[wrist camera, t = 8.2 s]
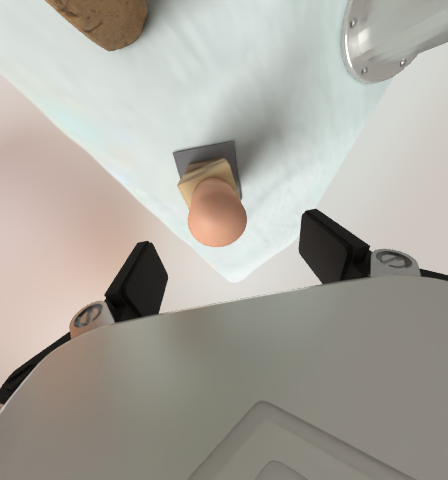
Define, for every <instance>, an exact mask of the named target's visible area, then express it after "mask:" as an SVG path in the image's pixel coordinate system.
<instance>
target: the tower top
mask: <svg viewBox="0 0 448 480" xmlns="http://www.w3.org/2000/svg"><path fill="white" fill-rule="evenodd" d="M212 177H215V178H220V179H223V180H225V181H227V182H228V183H229V184H230V185H231V187H232V188H233V190H234V191H235V193H236V195H237V197H238V198H239V200H240V197H239V194H238V190H237V187H236V184H235V181H234V178H233V174H232V171H231V168H230V165H229V164H228V163H227V162H226V160H225V159H224V158H223V159H221V160H218V161H216V162H214V163H211V164H209V165H206V166H204V167H201V168H199V169H196V170H194V171H192V172H189V173H187V174H184V175H183V176H182V178H181V179H180V181H179V183H178V185H177V186H178V188H179V190H180V192H181V194H182V196H183V198H184V200H185V202H186V204H187V206H188V208H189V210H190V205H191V199H192V194H193V191H194V189H195V187H196V186H197V185H198V184H199V183H200V182H201V181H203V180H205V179H207V178H212ZM240 202H241V200H240Z"/></svg>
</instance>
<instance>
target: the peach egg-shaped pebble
mask: <svg viewBox="0 0 448 480" xmlns="http://www.w3.org/2000/svg"><path fill="white" fill-rule="evenodd" d="M246 223H247V216H246V211H245V209H244V207H243V205H242V203H241V202H240V200H239V198H238V197H237V195H236V193H235V191H234V190H233V188H232V187H231V185H230V184H229V183H228V182H227V181H225V180H223V179H220V178H215V177H212V178H207V179H205V180H203V181H201V182H200V183H199V184H198V185H197V186H196V187H195V189H194V191H193V194H192V199H191V205H190V210H189V215H188V226H189V230H190V232H191V234H192V235H193V237H194V238H195V239H196V240H197V241H199V242H200V243H202V244H204V245H207V246H211V247H222V246H226V245H229V244H231V243H233V242H235V241H236V240H237V239H238V238H239V237H240V236H241V235H242V233H243V232H244V230H245V227H246Z"/></svg>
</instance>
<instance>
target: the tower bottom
mask: <svg viewBox="0 0 448 480" xmlns="http://www.w3.org/2000/svg"><path fill="white" fill-rule="evenodd" d="M223 158H224V157H221V158H216V159H211V160H206V161H201V162H196V163H191V164H188V166H187V168H186V169H185V171H186V174H187V173H189V172H192V171H194V170H196V169H199V168H201V167H204V166H206V165H209V164H211V163H214V162H216V161H218V160H221V159H223ZM224 159H225V158H224ZM225 160H226V159H225ZM226 162H227V163H228V161H227V160H226ZM228 164H229V163H228Z"/></svg>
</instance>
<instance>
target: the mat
mask: <svg viewBox="0 0 448 480" xmlns="http://www.w3.org/2000/svg"><path fill="white" fill-rule="evenodd" d="M173 156H174V159H175V162H176V166H177V169H178V172H179V176H180V179H181V178H182V176H183V175H184V174H186V171H185V169H186V168H187V166H188V164H191V163H196V162H201V161H206V160H211V159H216V158H221V157H224V158H225V159H226V160H227V161H228V163H229V165H230V168H231V171H232V174H233V178H234V181H235V184H236V187H237V190H238V194H239V197H240V200H241V196H240V187H239V179H238V171H237V162H236V154H235V146H234V141H230V142H225V143H220V144H215V145H210V146H205V147H200V148H195V149H191V150H186V151H181V152H176V153H173Z"/></svg>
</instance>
